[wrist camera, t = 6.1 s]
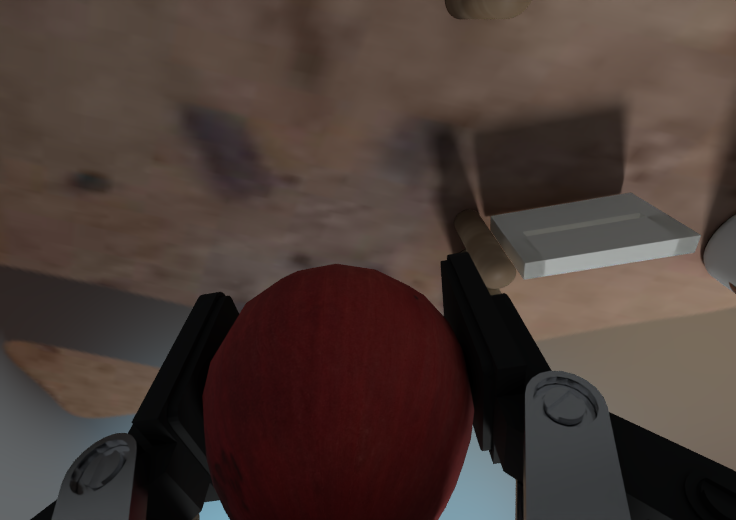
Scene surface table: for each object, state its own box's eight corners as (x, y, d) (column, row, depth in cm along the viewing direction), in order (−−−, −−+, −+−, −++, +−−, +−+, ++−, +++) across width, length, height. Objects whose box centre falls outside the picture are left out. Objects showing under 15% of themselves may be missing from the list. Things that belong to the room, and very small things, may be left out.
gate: (490, 230, 27) (523, 279, 22) (490, 216, 27) (525, 263, 22) (627, 207, 27) (694, 252, 22) (631, 192, 26) (701, 235, 21)
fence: (482, -166, 17) (555, -266, 11) (480, 267, 30) (512, 327, 24) (439, -157, 17) (487, -251, 11) (455, 271, 30) (481, 331, 24)
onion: (333, 377, 14) (320, 714, 7) (208, 284, 11) (2, 677, 5) (467, 299, 12) (618, 652, 5) (355, 166, 9) (373, 530, 3)
